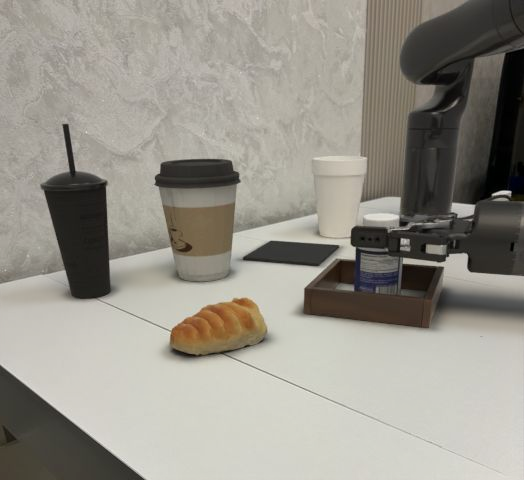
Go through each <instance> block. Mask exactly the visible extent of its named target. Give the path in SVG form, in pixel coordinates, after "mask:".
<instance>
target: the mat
mask: <svg viewBox="0 0 524 480" xmlns="http://www.w3.org/2000/svg"><path fill="white" fill-rule="evenodd" d="M339 248H340V245H339V244H330V243H329V244H328V243H327V244H326V243H312V242H298V241H286V240H285V241H283V240H269V241H267V242H266V243H264V244H262V245H261V246H259V247H257V248H256V249H254V250H252V251H251V252H249V253H247V254H246V255H244V256H243V257H242V260H243V261H253V262H266V263H277V264H278V263H279V264H289V265H290V264H291V265H301V266H302V265H303V266H314V267H319V266H320V265H321V264H322V263H323V262H325V261H326V260H327V259H328V258H329V257H330V256H331V255H332V254H333V253H335V252H336V251H337V250H338V249H339Z"/></svg>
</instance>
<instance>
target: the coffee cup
mask: <svg viewBox="0 0 524 480" xmlns="http://www.w3.org/2000/svg"><path fill="white" fill-rule="evenodd" d="M154 181H155V182H154V184H153V185H154V186H155V187H158V191H159V192H158V193H159V197H160V201H161V206H162V210H163V215H164V219H165V224H166V228H167V234H168V239H169V242H170V243H169V244H170V247H171V252H172V257H173V260H174V265H175V270H176V271H177V273H178V277H179V278H180V279H182V280H185V281H188V282H212V281H213V282H214V281H217V280H221V279H224V278H226V277H228V276H229V274H230V269H231V264H232V251H233V238H234V228H235V227H234V226H235V225H234V224H235V212H236V201H237V200H236V199H237V186H238V184H240V183H242V180H241V179H240V171H239V172H238V171H236V170H235V169H234V164H233V160H230V159H226V158H224V159H223V158H188V159H185V158H183V159H174V160H167V161H162V162H160V167H159V173H157V174H156V175H154Z"/></svg>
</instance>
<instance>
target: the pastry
mask: <svg viewBox="0 0 524 480" xmlns="http://www.w3.org/2000/svg"><path fill="white" fill-rule="evenodd" d="M267 334H268V326H267V323H266V322H265V318H264V316H263V314H262V313H261V311H260V308H259V306H258V304H257V303H256V302H255V301H253V300H252V299H250V298H248V297H241V298H238V297H233V299H232V300H231V301H221V302H217V303H215V304H207V305H206V306H203V307H201V309H200V310H199V311H198V312H196V313H195V314H193V315H191V316H188V317H186V318H184V319H183V320H182V321H181V322H179V323H178V324H177V325H175V326H173V327H172V329H171V331H170V336H169V346H170V347H171V348H173V349H174V350H177V351H180V352H183V353H186V354H191V355H196V357H197V356H199V355H201V356H207V355H208V354H213V353H214V354H215V353H218V354H221V353H223V352H227V351H235V350H239V349H243V348H244V347H245V346H253V345H257V344H259V343H260V342H262V341H263V340H264V338H265V336H266V335H267Z"/></svg>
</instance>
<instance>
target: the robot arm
mask: <svg viewBox="0 0 524 480" xmlns="http://www.w3.org/2000/svg"><path fill="white" fill-rule="evenodd" d="M522 49H524V0H466V1H465V2H463V3H461V4H460V5H458V6H456V7H454V8H453V9H451V10H448V11H446V12H445V13H441V14H439V15H437V16H435V17H433V18H430V19H428V20H424V21H423V22H420V23H419V24H417V25H416V26H415V27H414V28H412V29H411V30H410V31H409V33H408V34H407V35H406V37H404V40H403V43H402V44H401V47H400V49H399V55H398V67H399V70H400V73H401V75H402V76H403V78H404V79H405V81H407V82H409V83H410V84H412V85H415V86H416V85H417V86H434V87H433V92H432V95H431V97H430V98H429V99H428V100H427V101H426V102H425V103H423V104H422V105H420V106H418V107H415V108H413V109H411V110H410V111H409V112H408V114H407V115H406V123H405V124H406V125H405V128H406V129H405V138H404V149H403V151H404V152H403V163H402V176H401V187H400V189H401V190H400V202H399V213H398V216H399V227H394V226H390V227H373V226H363V225H356V226H354V227H353V228H352V229H351V236H350V245H351V247H353V248H356V247H361V248H377V249H385V251H387V252H388V256H391V257H401V258H403V259H410V260H411V259H412V260H420V261H425V262H427V261H428V262H434V263H437V264H438V263H439V264H441V263H444V262H446V261H447V258H449V257H450V255H457V254H458V255H460V254H461V255H463V254H464V255H465V254H466V255H467V263H466V268H467V269H466V270H467V271H468V272H470V273H472V274H487V275H499V276H500V275H501V276H515V277H524V201H521V200H520V201H517V200H515V201H514V199H513V198H512V196H510V195H508V194H496V195H493V196H490V197H488V198H485V199H482V200H478V201H477V202H476V203H475V204H474V209H473V214H470V215H467V216H464V217H458V213H456V212H454V211H452V209H453V208H452V207H453V199H454V190H455V182H456V174H457V164H458V156H459V149H460V148H459V147H460V139H461V130H462V129H461V128H462V124H463V123H462V122H463V118H464V116H465V114H466V111H467V108H468V104H469V99H470V92H471V87H472V80H473V76H474V75H473V74H474V69H475V62H476V59H477V58H478V59H479V58H486V57H492V56H496V55H497V56H498V55H501V54H506V53H511V52H515V51H518V50H522ZM496 199H507V200H496ZM471 219H472V220H471ZM401 238H403V240H406V243H404V245H401Z"/></svg>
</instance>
